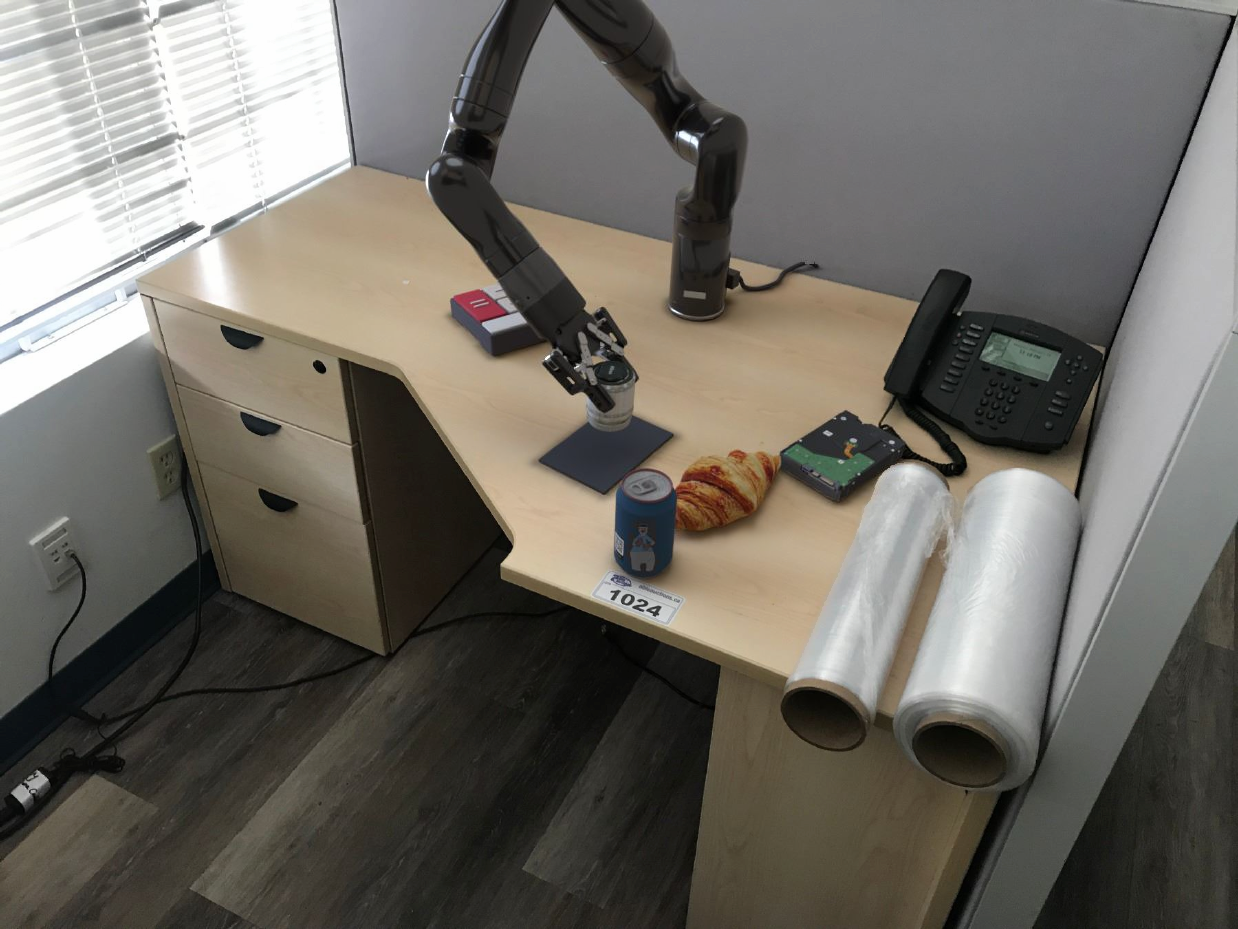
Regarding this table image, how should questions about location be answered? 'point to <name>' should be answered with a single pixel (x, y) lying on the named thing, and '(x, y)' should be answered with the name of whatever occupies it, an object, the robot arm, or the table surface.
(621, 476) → the felt mat
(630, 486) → the soda can
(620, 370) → the camera lens
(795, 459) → the disk drive
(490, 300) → the calculator
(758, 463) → the croissant
